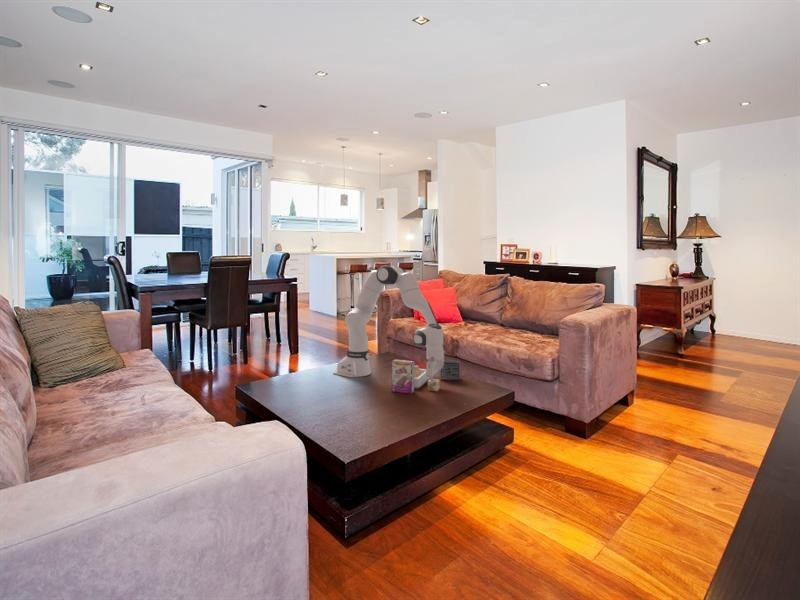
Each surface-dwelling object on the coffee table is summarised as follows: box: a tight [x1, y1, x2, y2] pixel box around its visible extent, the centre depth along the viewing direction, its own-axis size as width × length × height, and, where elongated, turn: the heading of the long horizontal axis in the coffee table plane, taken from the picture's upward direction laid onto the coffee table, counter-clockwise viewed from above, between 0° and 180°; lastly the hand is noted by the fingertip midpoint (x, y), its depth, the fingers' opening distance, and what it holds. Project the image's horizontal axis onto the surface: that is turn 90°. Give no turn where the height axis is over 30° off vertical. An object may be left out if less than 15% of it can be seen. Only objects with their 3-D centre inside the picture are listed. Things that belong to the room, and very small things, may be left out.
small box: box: [440, 359, 460, 382], centre depth 257 cm, size 11×6×10 cm, turn 84°
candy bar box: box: [391, 359, 416, 395], centre depth 234 cm, size 11×5×16 cm, turn 71°
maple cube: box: [427, 378, 441, 392], centre depth 239 cm, size 5×5×5 cm
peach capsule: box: [414, 364, 420, 378], centre depth 255 cm, size 5×5×7 cm
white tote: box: [414, 368, 430, 389], centre depth 251 cm, size 14×18×6 cm
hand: (434, 380), depth 239 cm, fingers open, 8 cm apart
